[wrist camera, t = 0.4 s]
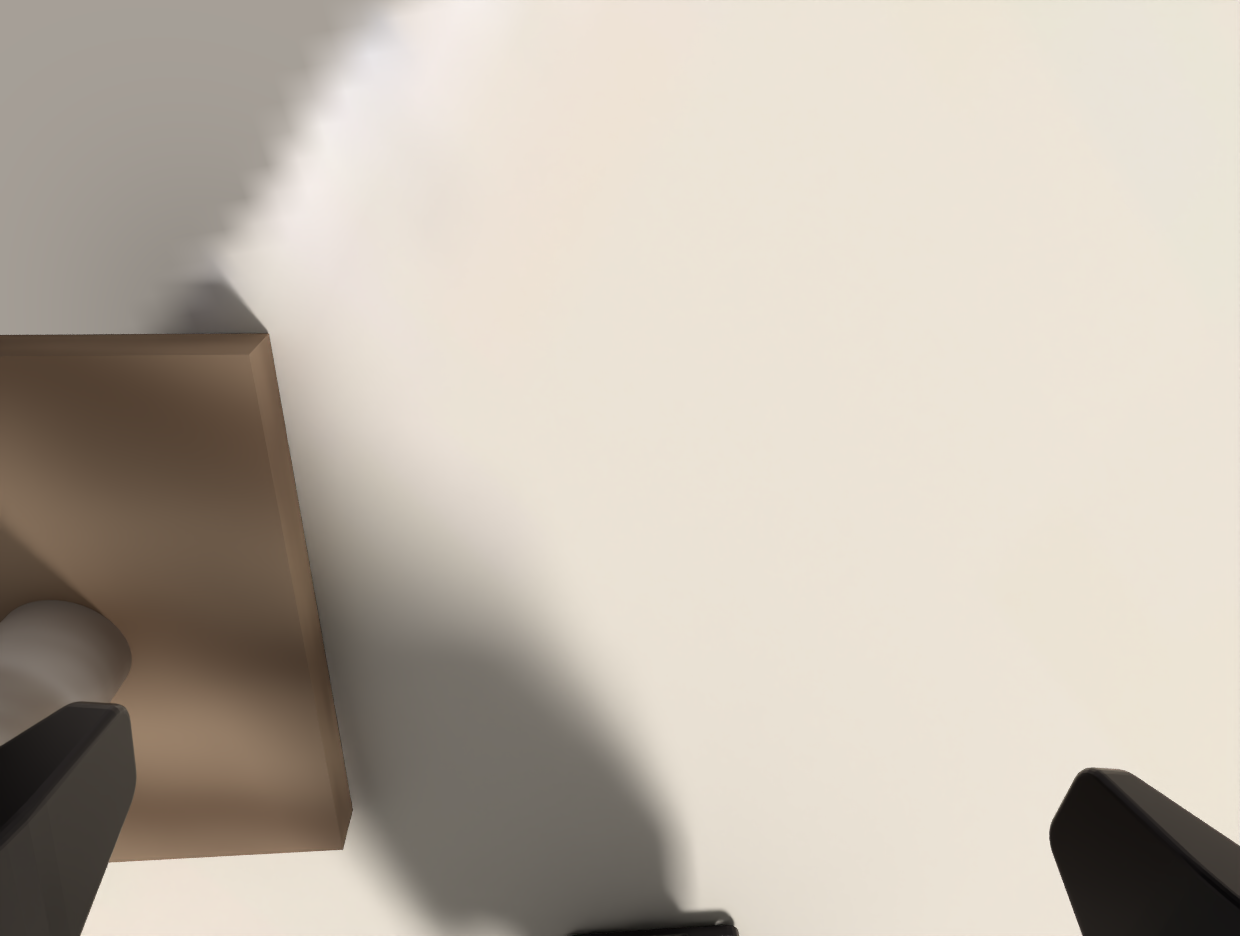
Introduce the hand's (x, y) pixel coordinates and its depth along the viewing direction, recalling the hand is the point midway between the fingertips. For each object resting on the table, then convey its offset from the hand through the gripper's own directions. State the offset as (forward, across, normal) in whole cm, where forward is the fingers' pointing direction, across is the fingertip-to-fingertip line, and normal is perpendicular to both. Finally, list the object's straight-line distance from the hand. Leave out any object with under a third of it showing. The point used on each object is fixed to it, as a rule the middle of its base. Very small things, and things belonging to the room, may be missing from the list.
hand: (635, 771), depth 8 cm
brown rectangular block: (+14, +12, +10) cm, 21 cm away
